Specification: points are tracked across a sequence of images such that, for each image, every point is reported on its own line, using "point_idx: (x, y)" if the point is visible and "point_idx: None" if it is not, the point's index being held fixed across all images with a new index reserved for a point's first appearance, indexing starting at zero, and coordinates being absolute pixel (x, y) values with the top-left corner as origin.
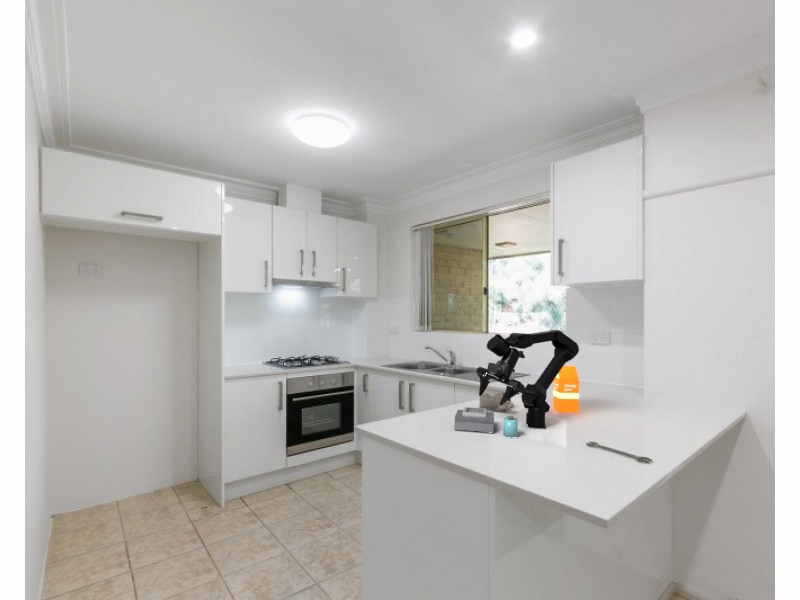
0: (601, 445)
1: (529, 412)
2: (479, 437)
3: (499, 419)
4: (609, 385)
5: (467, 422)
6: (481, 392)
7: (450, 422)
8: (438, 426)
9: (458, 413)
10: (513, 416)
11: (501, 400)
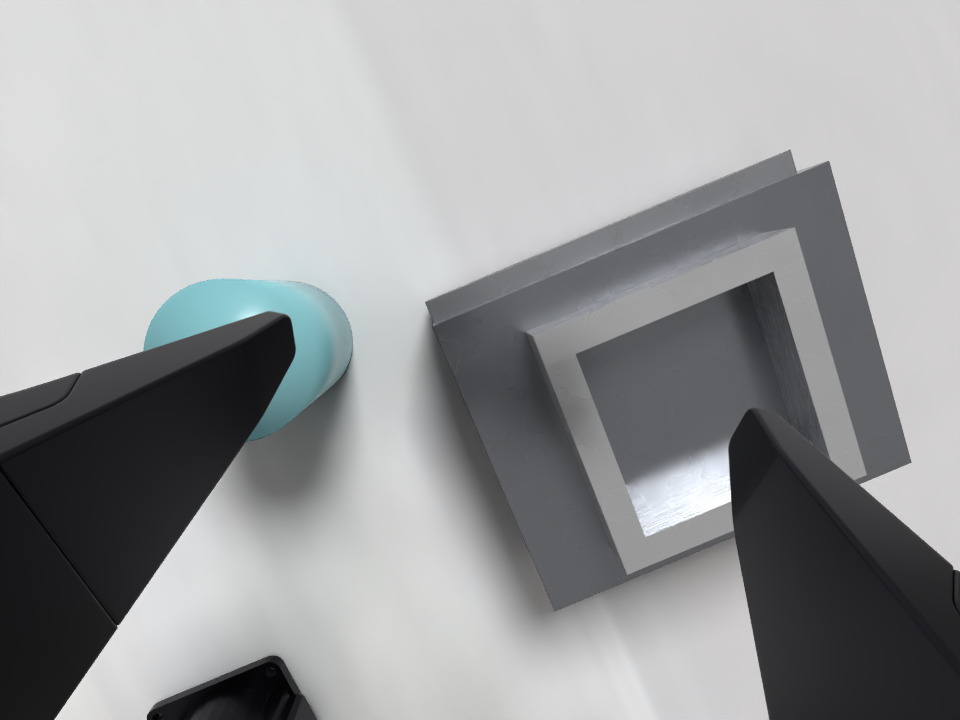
0: None
1: None
2: (480, 132)
3: (561, 715)
4: None
5: (664, 203)
6: (764, 472)
7: None
8: (896, 201)
9: (843, 311)
10: None
11: (229, 337)
